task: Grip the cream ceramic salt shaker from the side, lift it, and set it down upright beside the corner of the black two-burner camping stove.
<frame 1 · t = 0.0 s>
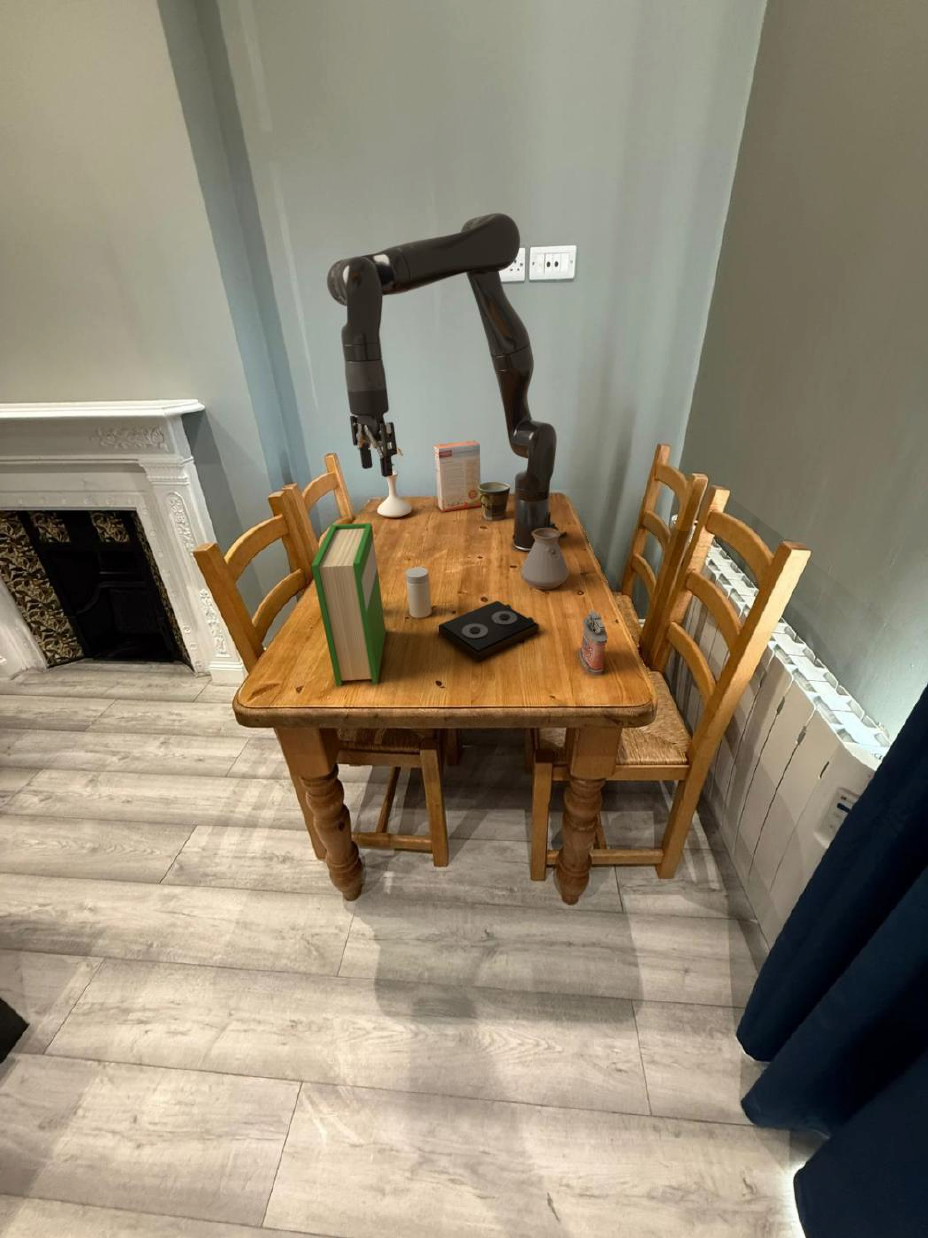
hand: (377, 471, 104), 29 cm above the table, tool pointing down, fingers open, 8 cm apart
salt shaker: (420, 612, 113), on the table
stove: (488, 633, 104), on the table
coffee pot: (545, 592, 119), on the table
hardback book: (363, 657, 99), on the table
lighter: (590, 662, 95), on the table
cracker box: (459, 507, 172), on the table
ceramic cup: (491, 518, 162), on the table
flower in vase: (395, 514, 169), on the table
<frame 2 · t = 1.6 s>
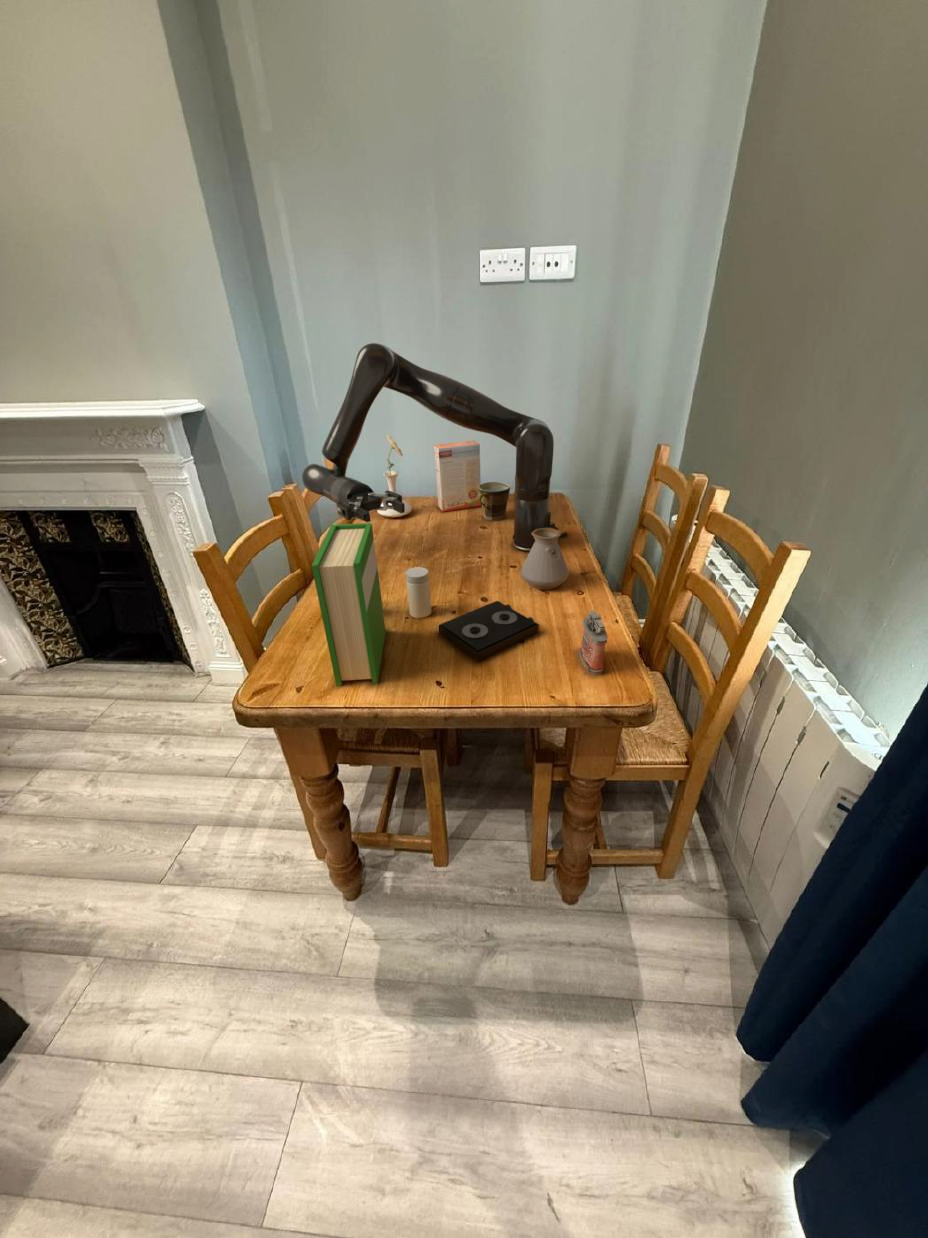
hand: (386, 513, 109), 20 cm above the table, tool horizontal, fingers open, 8 cm apart
nothing on the table moved.
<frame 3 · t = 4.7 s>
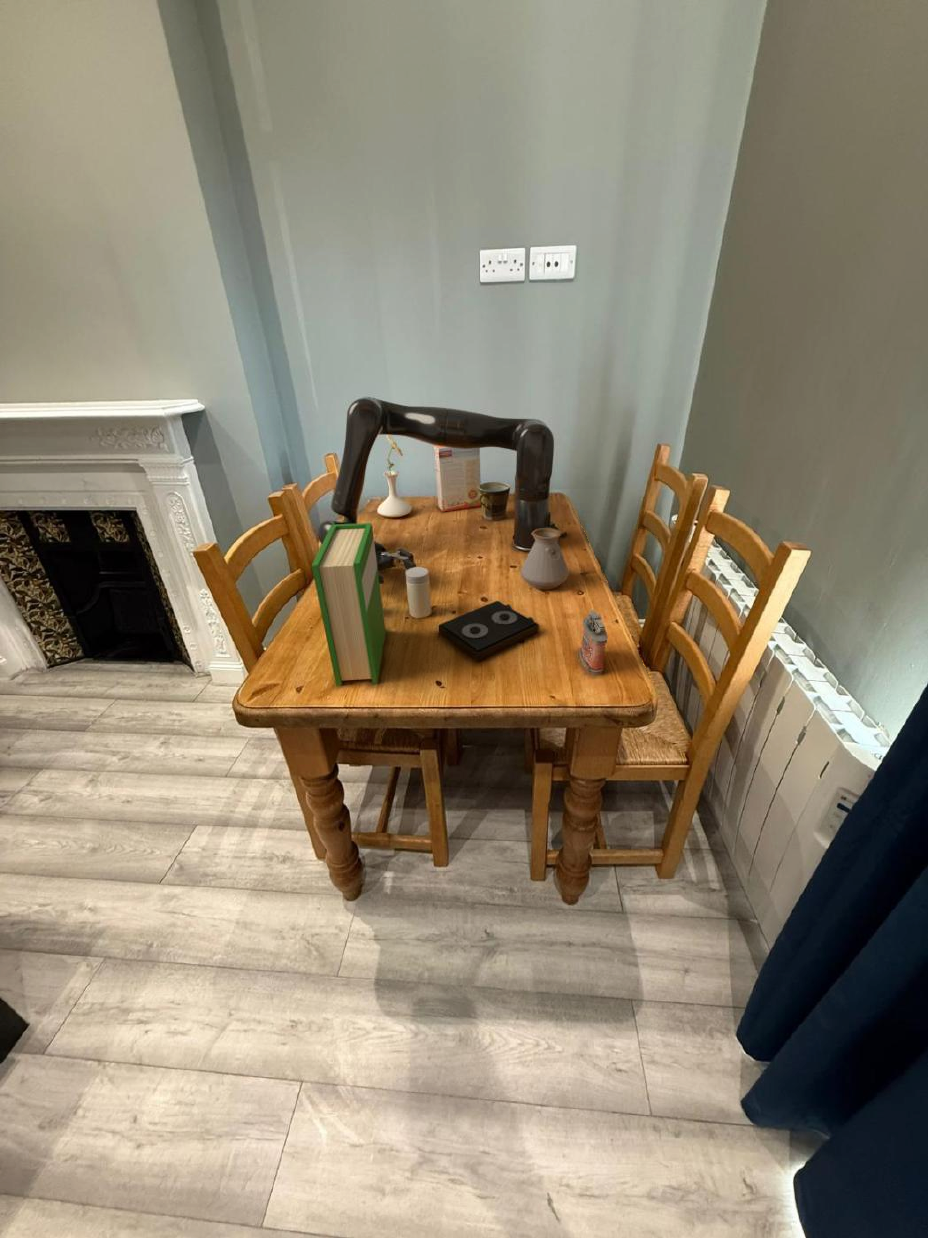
hand: (398, 574, 115), 6 cm above the table, tool horizontal, fingers open, 8 cm apart
nothing on the table moved.
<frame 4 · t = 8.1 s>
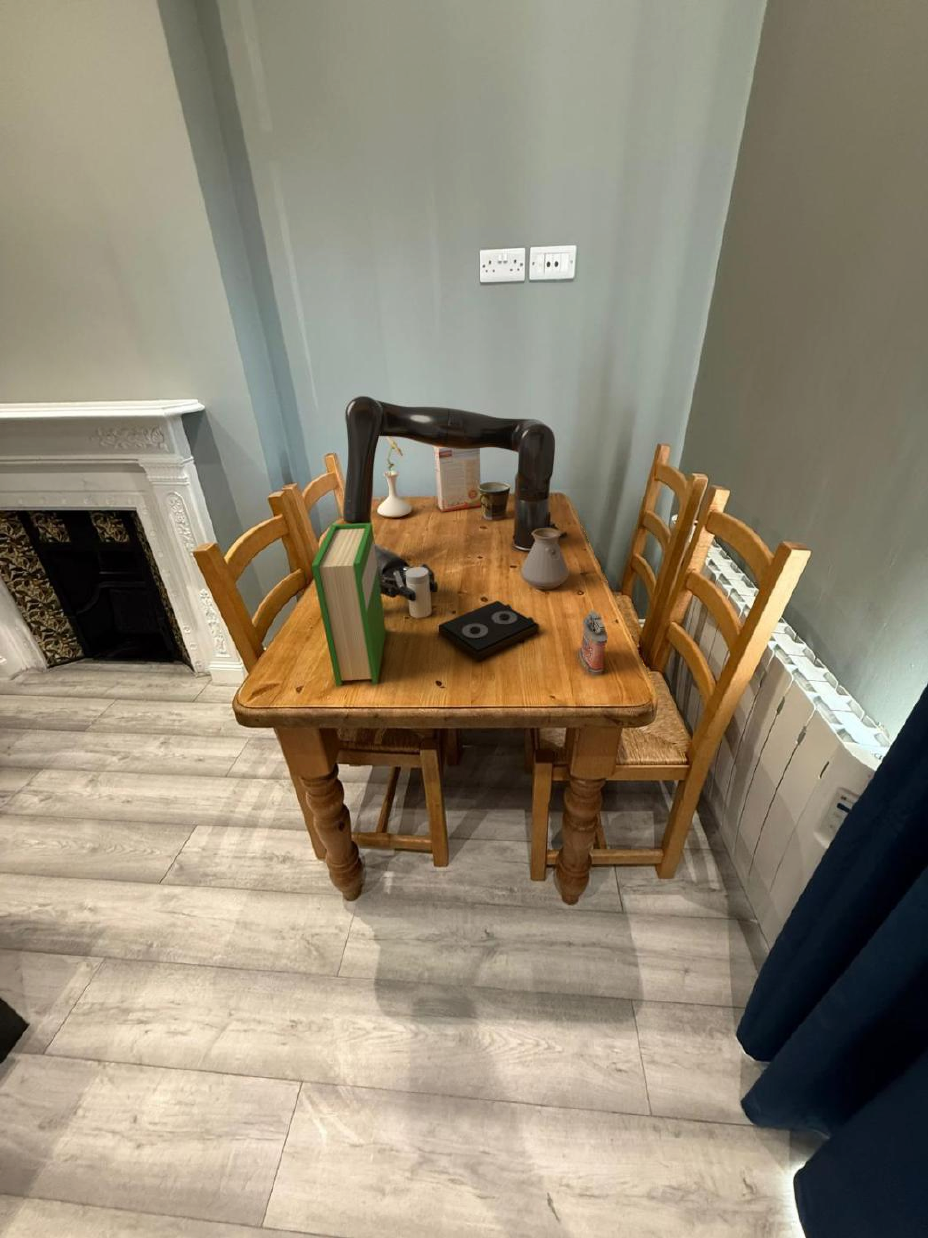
hand: (425, 592, 108), 6 cm above the table, tool horizontal, fingers closed on salt shaker, 5 cm apart
salt shaker: (420, 612, 113), on the table, touching gripper
everything else where it was.
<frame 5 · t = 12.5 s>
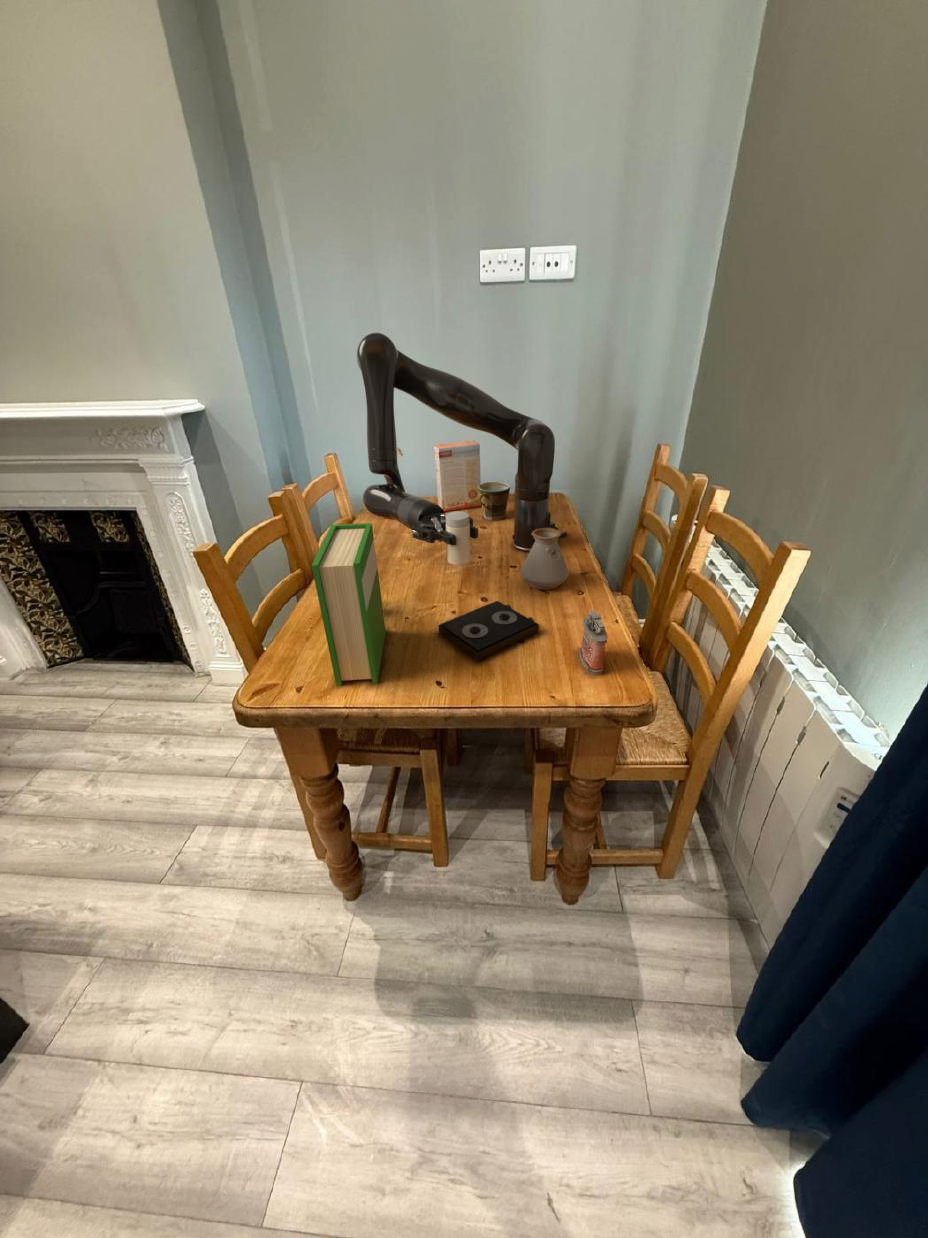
hand: (465, 537, 103), 18 cm above the table, tool horizontal, fingers closed on salt shaker, 5 cm apart
salt shaker: (459, 560, 108), point 12 cm above the table, touching gripper
everything else where it was.
when the fingers open (6 cm above the table, at t = 17.4 s): salt shaker stays where it is, on the table.
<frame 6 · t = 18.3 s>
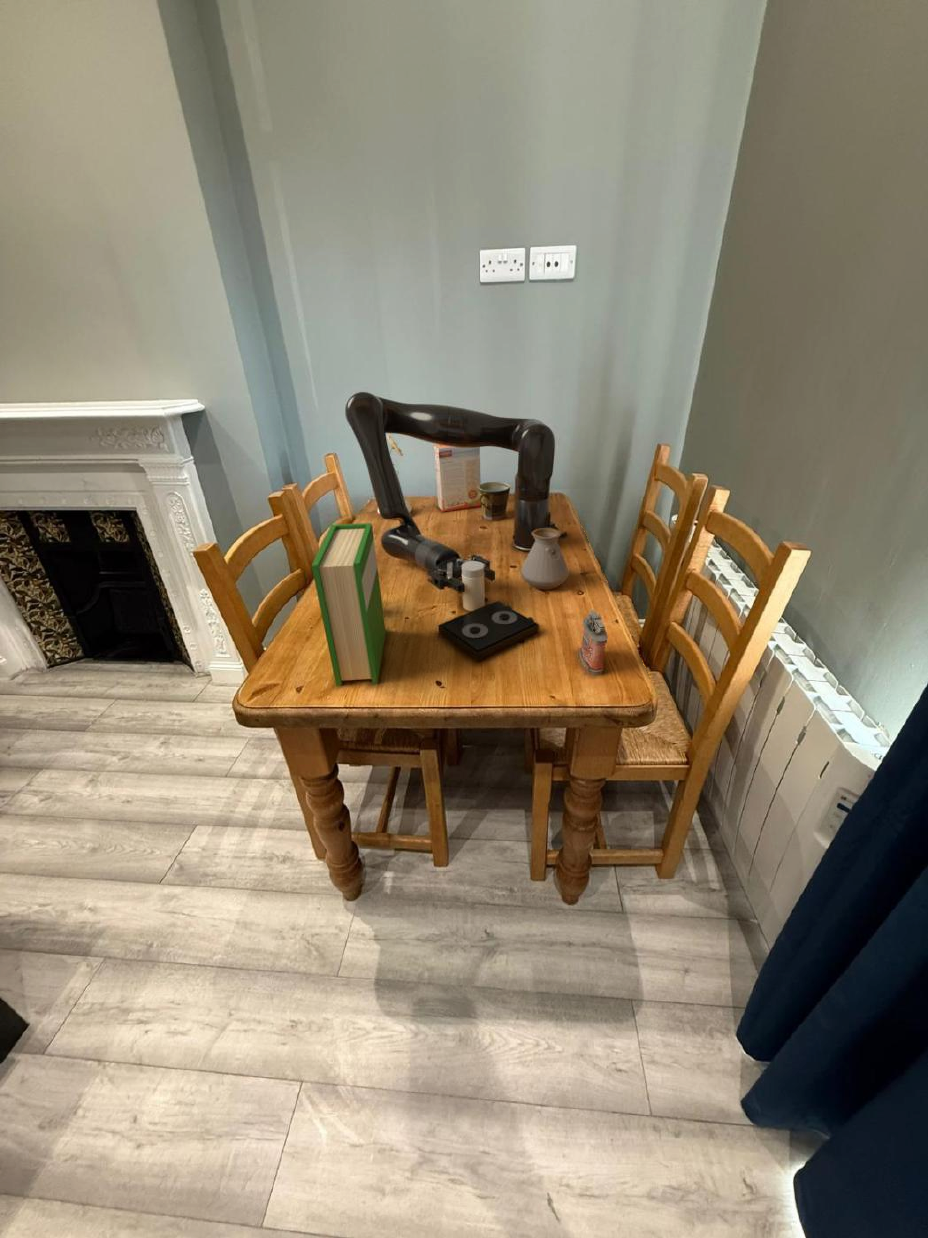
hand: (479, 582, 110), 7 cm above the table, tool horizontal, fingers open, 8 cm apart
salt shaker: (473, 605, 114), on the table
everything else where it was.
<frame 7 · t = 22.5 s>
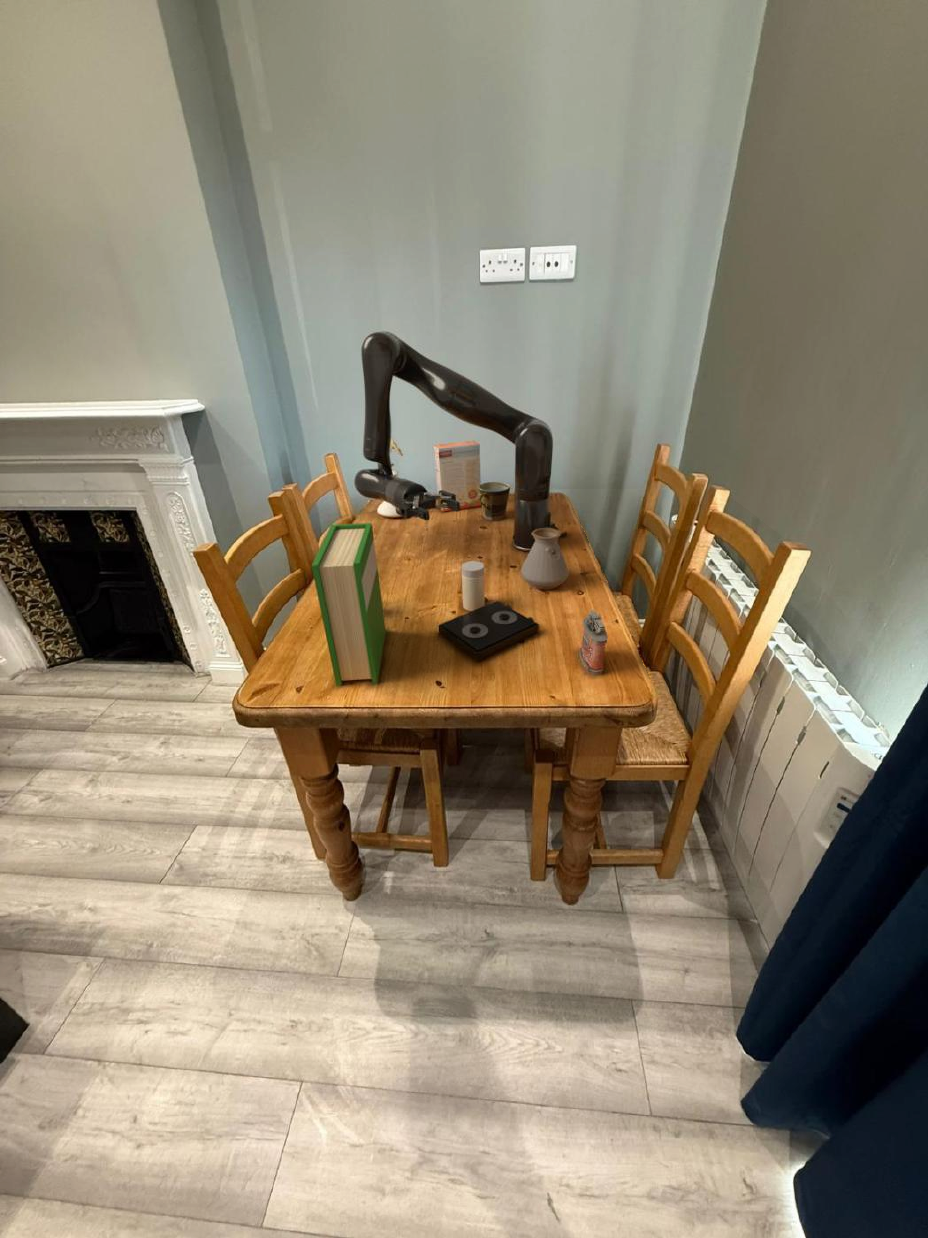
hand: (443, 511, 114), 18 cm above the table, tool horizontal, fingers open, 8 cm apart
nothing on the table moved.
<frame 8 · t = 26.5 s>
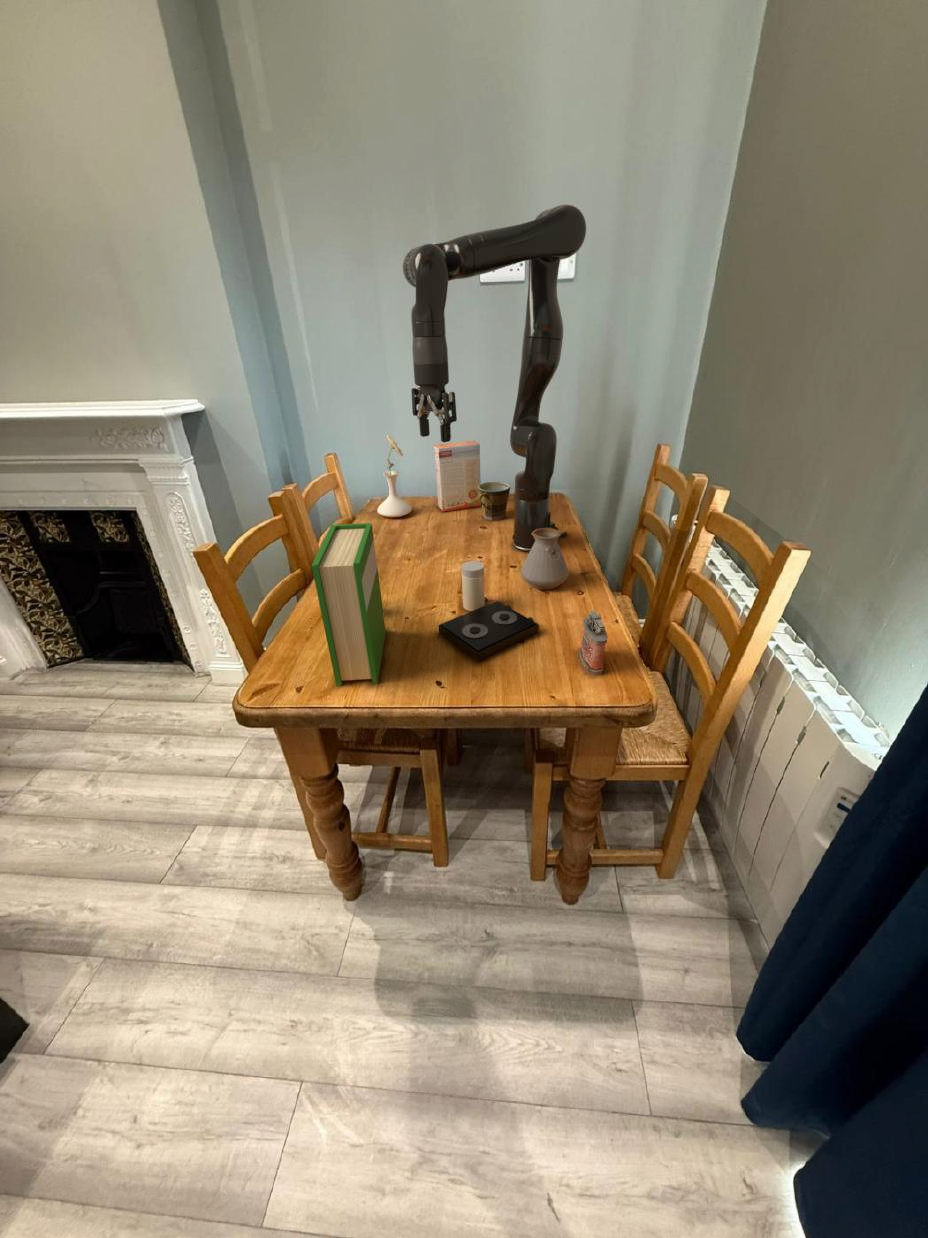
hand: (435, 438, 117), 32 cm above the table, tool pointing down, fingers open, 8 cm apart
nothing on the table moved.
at the end: salt shaker inside the target area on the table beside the stove (0.8 cm from its centre), on the table; salt shaker tilted 0°; the gripper is holding nothing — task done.
